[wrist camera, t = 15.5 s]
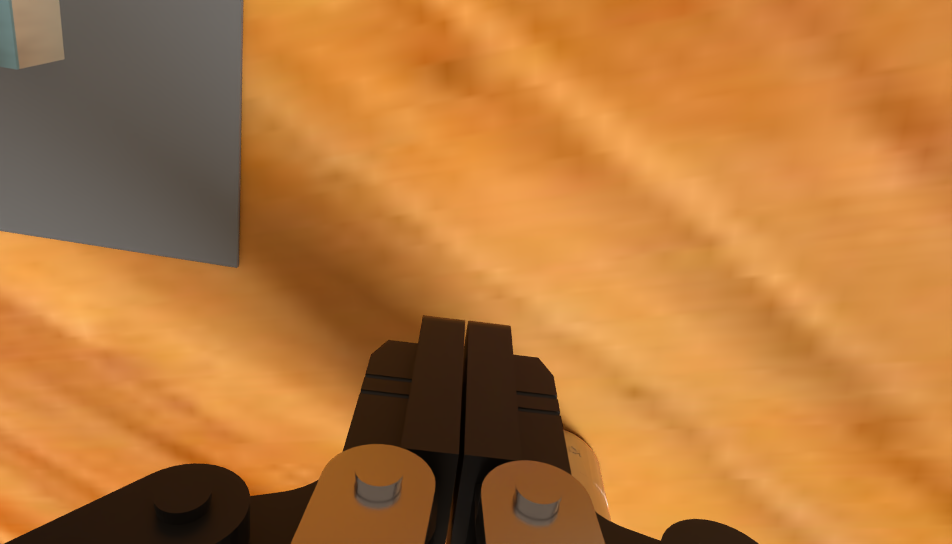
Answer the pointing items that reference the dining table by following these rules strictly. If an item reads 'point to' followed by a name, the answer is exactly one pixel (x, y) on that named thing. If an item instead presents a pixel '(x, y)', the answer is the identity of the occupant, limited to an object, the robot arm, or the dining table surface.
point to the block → (30, 33)
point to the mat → (130, 131)
